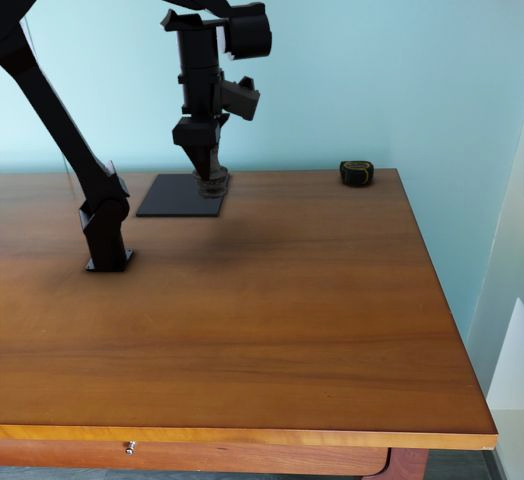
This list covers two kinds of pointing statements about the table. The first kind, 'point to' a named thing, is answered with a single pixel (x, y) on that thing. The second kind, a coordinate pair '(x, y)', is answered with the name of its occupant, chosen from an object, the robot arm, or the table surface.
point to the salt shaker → (212, 179)
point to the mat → (178, 198)
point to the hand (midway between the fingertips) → (210, 171)
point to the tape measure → (356, 172)
